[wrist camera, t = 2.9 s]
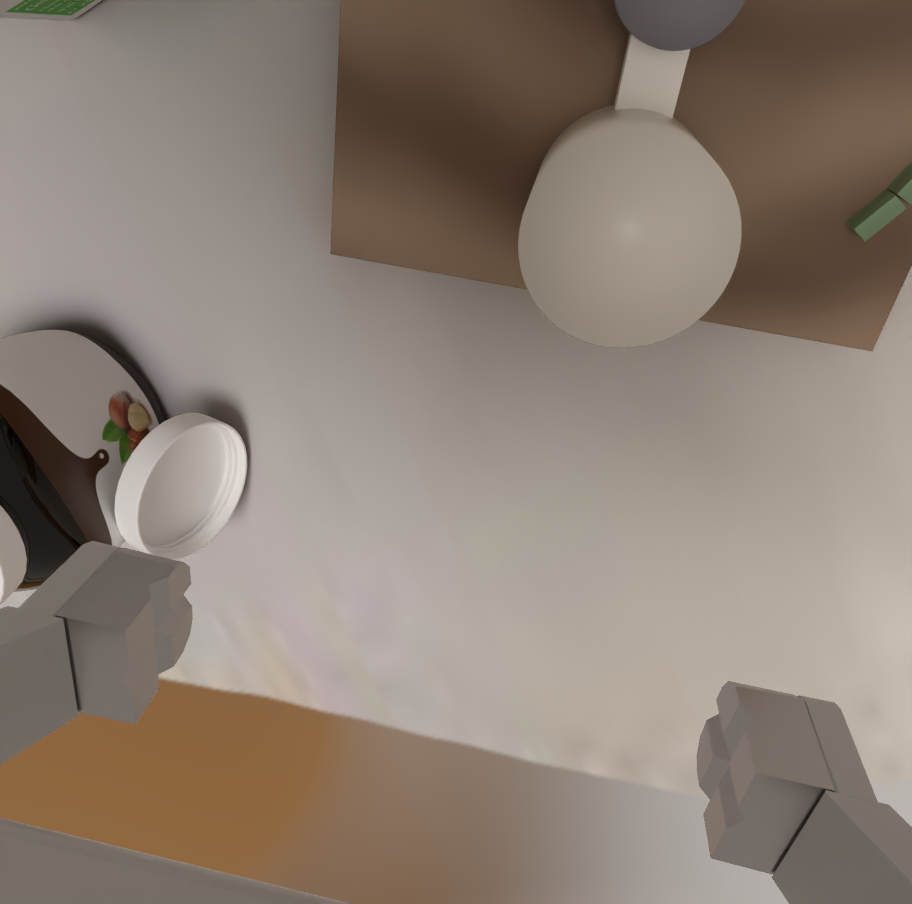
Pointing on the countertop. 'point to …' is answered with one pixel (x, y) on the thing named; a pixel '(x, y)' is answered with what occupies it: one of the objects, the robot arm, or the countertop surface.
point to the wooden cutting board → (698, 108)
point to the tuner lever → (634, 197)
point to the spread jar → (101, 460)
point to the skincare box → (45, 9)
